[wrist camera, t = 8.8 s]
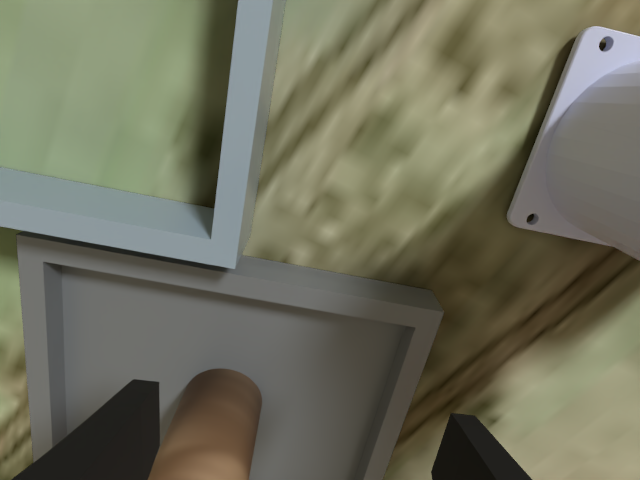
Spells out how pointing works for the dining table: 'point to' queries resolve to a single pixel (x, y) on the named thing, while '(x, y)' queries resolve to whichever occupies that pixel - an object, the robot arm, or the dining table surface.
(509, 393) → the dining table surface
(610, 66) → the robot arm
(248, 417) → the walnut dowel
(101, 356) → the grey tray
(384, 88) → the dining table surface
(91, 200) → the frame
